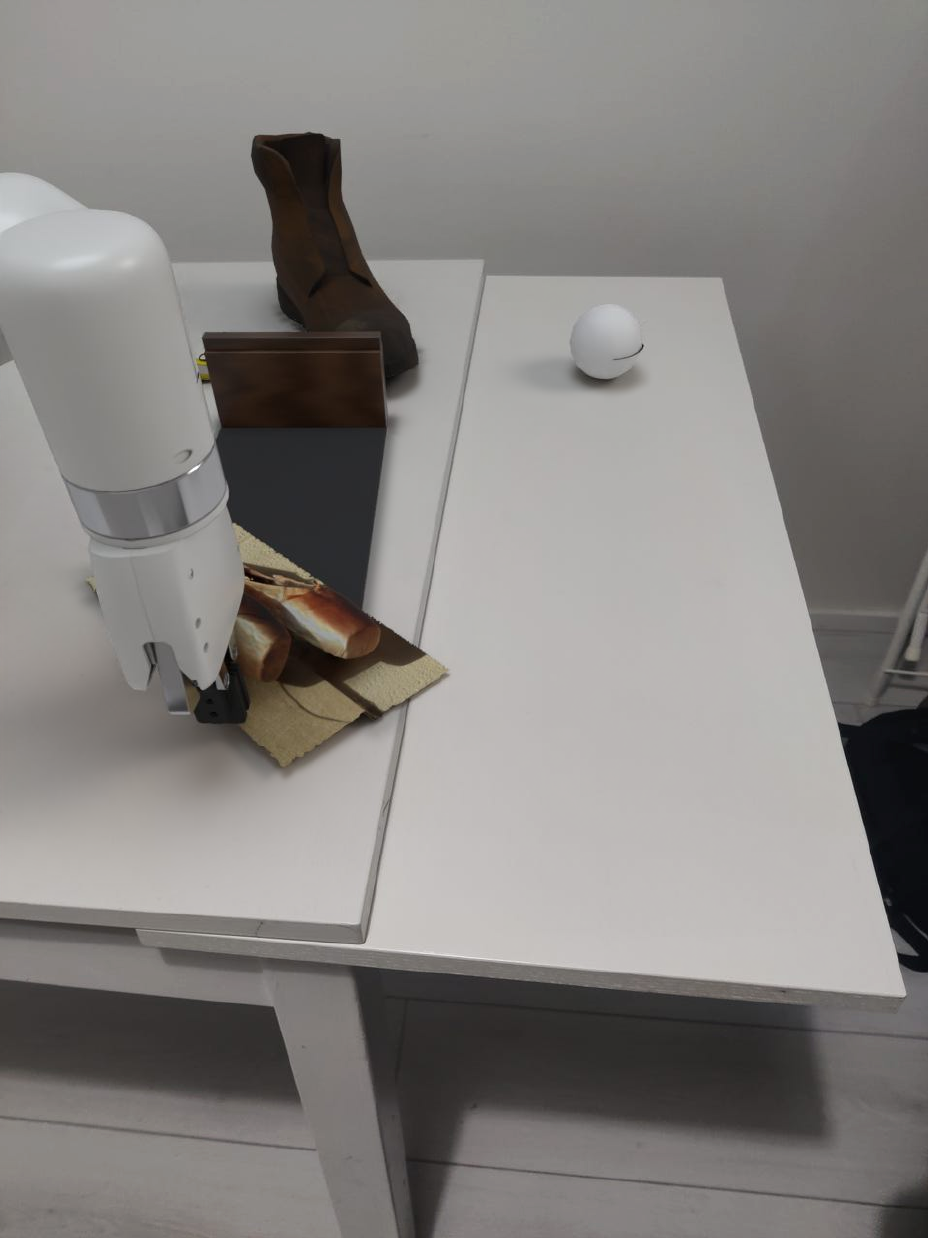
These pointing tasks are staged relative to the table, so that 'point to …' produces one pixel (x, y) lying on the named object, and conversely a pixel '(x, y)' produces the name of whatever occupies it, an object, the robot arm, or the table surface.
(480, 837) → the table surface
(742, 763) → the table surface
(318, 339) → the brown wooden panel
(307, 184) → the boot
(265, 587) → the ballet pointe shoes
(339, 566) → the black display mat
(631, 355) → the white ovoid
